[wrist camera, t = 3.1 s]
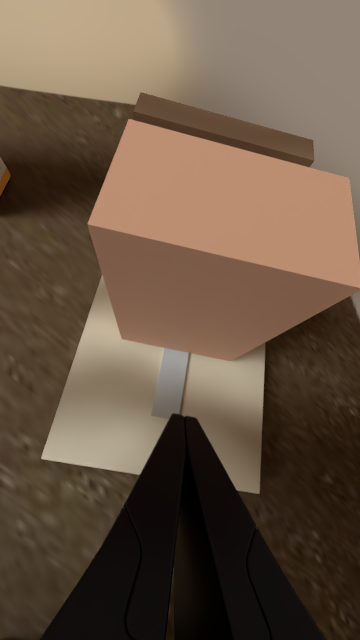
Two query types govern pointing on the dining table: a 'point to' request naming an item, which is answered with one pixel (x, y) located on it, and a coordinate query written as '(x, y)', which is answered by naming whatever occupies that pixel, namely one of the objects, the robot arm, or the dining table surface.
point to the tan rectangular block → (218, 242)
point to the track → (167, 353)
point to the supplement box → (3, 176)
